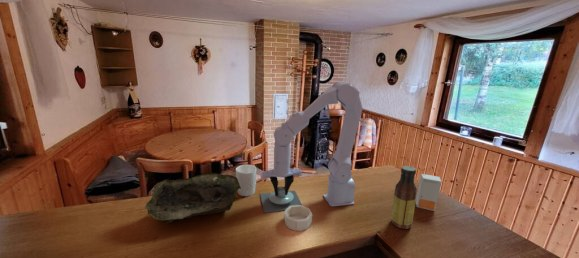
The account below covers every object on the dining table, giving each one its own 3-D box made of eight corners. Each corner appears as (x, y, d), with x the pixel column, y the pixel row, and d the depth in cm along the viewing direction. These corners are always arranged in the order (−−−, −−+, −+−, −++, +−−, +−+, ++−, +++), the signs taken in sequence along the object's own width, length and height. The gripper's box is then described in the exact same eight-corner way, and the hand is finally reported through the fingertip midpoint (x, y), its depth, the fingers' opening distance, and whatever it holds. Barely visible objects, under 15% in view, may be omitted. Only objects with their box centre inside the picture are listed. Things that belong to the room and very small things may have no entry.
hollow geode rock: (240, 219, 84) (239, 178, 91) (242, 213, 74) (241, 167, 81) (152, 228, 77) (159, 183, 84) (140, 222, 67) (148, 171, 73)
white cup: (258, 187, 97) (258, 165, 95) (253, 198, 90) (253, 174, 87) (239, 186, 98) (239, 163, 95) (233, 196, 90) (232, 172, 88)
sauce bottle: (410, 220, 80) (420, 166, 74) (412, 232, 74) (424, 174, 69) (389, 216, 82) (397, 162, 76) (390, 227, 76) (399, 170, 71)
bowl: (306, 213, 82) (306, 204, 81) (314, 229, 74) (315, 219, 73) (282, 216, 80) (282, 206, 79) (288, 232, 72) (288, 222, 71)
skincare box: (416, 207, 87) (422, 178, 84) (415, 201, 91) (420, 173, 88) (435, 211, 85) (442, 181, 82) (433, 205, 89) (439, 176, 86)
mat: (294, 191, 95) (294, 190, 95) (303, 208, 84) (303, 207, 84) (260, 194, 92) (260, 193, 92) (264, 212, 81) (264, 211, 81)
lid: (289, 190, 93) (290, 181, 92) (296, 202, 84) (296, 193, 83) (266, 192, 91) (266, 183, 90) (271, 205, 82) (271, 195, 81)
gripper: (298, 154, 89) (297, 187, 93) (260, 156, 86) (260, 190, 90) (304, 162, 83) (302, 196, 86) (262, 164, 79) (262, 200, 83)
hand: (280, 194), depth 87 cm, fingers closed on lid, 3 cm apart
